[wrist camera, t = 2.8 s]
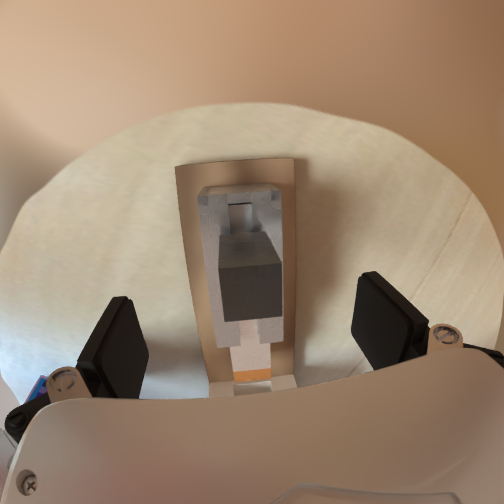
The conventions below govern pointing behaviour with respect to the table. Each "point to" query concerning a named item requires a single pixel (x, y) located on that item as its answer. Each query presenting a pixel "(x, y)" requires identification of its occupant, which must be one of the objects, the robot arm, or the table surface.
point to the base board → (188, 189)
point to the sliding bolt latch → (249, 290)
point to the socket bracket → (251, 386)
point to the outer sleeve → (217, 223)
